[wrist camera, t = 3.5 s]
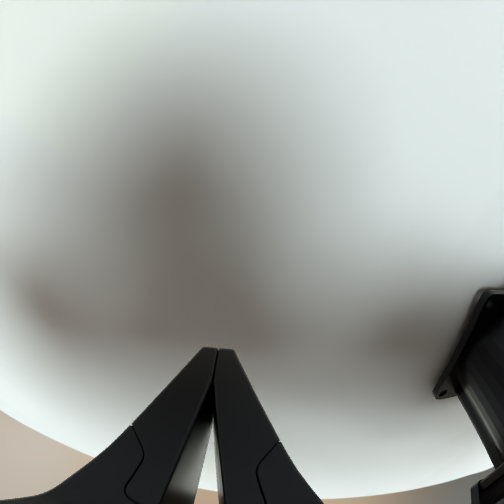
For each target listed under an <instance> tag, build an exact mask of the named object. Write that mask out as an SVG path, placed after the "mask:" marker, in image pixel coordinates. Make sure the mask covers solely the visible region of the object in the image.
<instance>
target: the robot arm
mask: <svg viewBox="0 0 504 504" xmlns="http://www.w3.org/2000/svg"><path fill="white" fill-rule="evenodd" d="M433 395H434V397H435V399H444V398H449V397H454V396H458V398H459V400H460V402H461V403H462V405H463V407H464V409H465V411H466V412H467V414H468V416H469V418H470V420H471V422H472V423H473V425H474V427H475V429H476V431H477V433H478V435H479V437H480V439H481V441H482V443H483V445H484V447H485V449H486V451H487V453H488V455H489V457H490V459H491V461H492V463H493V465H494V467H495V470H494V471H493V472H492V473H491V474H489V475H488V476H487V477H486V478H485V479H482V480H480V481H479V482H477V483H476V484H475V485H473V486H472V487H471V504H504V290H487V291H485V292H484V293H483V294H482V295H481V297H480V299H479V301H478V303H477V306H476V308H475V310H474V313H473V315H472V317H471V320H470V322H469V324H468V326H467V328H466V330H465V332H464V334H463V337H462V339H461V341H460V343H459V345H458V347H457V348H456V350H455V352H454V354H453V356H452V358H451V360H450V362H449V363H448V365H447V367H446V369H445V371H444V372H443V374H442V376H441V377H440V379H439V381H438V383H437V384H436V386H435V388H434V389H433ZM212 424H214V445H215V460H216V474H217V487H218V498H219V504H324V503H323V502H322V501H321V499H320V498H319V497H318V496H317V495H316V493H315V492H314V491H313V490H312V488H311V487H310V486H309V485H308V483H307V482H306V481H305V479H304V478H303V477H302V475H301V474H300V473H299V471H298V470H297V468H296V467H295V465H294V463H293V462H292V460H291V459H290V457H289V455H288V454H287V452H286V450H285V448H284V446H283V445H282V443H281V442H279V441H280V439H279V437H278V436H277V434H276V432H275V430H274V428H273V426H272V424H271V422H270V421H269V419H268V417H267V415H266V413H265V411H264V409H263V407H262V405H261V403H260V401H259V399H258V397H257V395H256V393H255V391H254V390H253V388H252V386H251V384H250V382H249V380H248V377H247V375H246V373H245V371H244V369H243V367H242V365H241V363H240V361H239V359H238V357H237V355H236V353H235V351H234V350H233V349H223V348H220V349H219V350H218V349H217V348H212V347H203V348H201V349H200V351H199V352H198V353H197V354H196V355H195V356H194V357H193V358H192V359H191V360H190V362H189V363H188V364H187V365H186V366H185V367H184V368H183V369H182V370H181V371H180V372H179V374H178V375H177V376H176V377H175V378H174V379H173V380H172V381H171V382H170V383H169V384H168V385H167V387H166V388H165V389H164V390H163V391H162V392H161V393H160V394H159V395H158V396H157V397H156V398H155V399H154V400H153V402H152V403H151V404H150V405H149V406H148V407H147V408H146V409H145V410H144V411H143V412H142V413H141V414H140V415H139V416H138V417H137V419H136V420H135V421H134V422H133V423H132V426H131V425H130V426H129V427H128V428H127V429H126V430H125V431H124V432H123V433H122V434H121V435H120V436H119V437H118V438H117V439H116V440H115V441H114V442H113V443H112V444H111V445H110V446H109V447H108V448H106V449H105V450H104V451H103V452H101V453H100V454H99V455H98V456H97V457H95V458H94V459H93V460H92V461H90V462H89V463H88V464H86V465H85V466H84V467H82V468H81V469H80V470H78V471H77V472H76V473H74V474H73V475H72V476H70V477H69V478H67V479H66V480H65V481H63V482H62V483H61V484H59V485H58V486H56V487H55V488H53V489H51V490H49V491H47V492H44V493H42V494H39V495H35V496H30V497H23V498H15V499H8V500H0V504H194V500H195V496H196V492H197V488H198V484H199V479H200V475H201V471H202V467H203V463H204V458H205V454H206V450H207V446H208V442H209V437H210V433H211V429H212Z"/></svg>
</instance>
